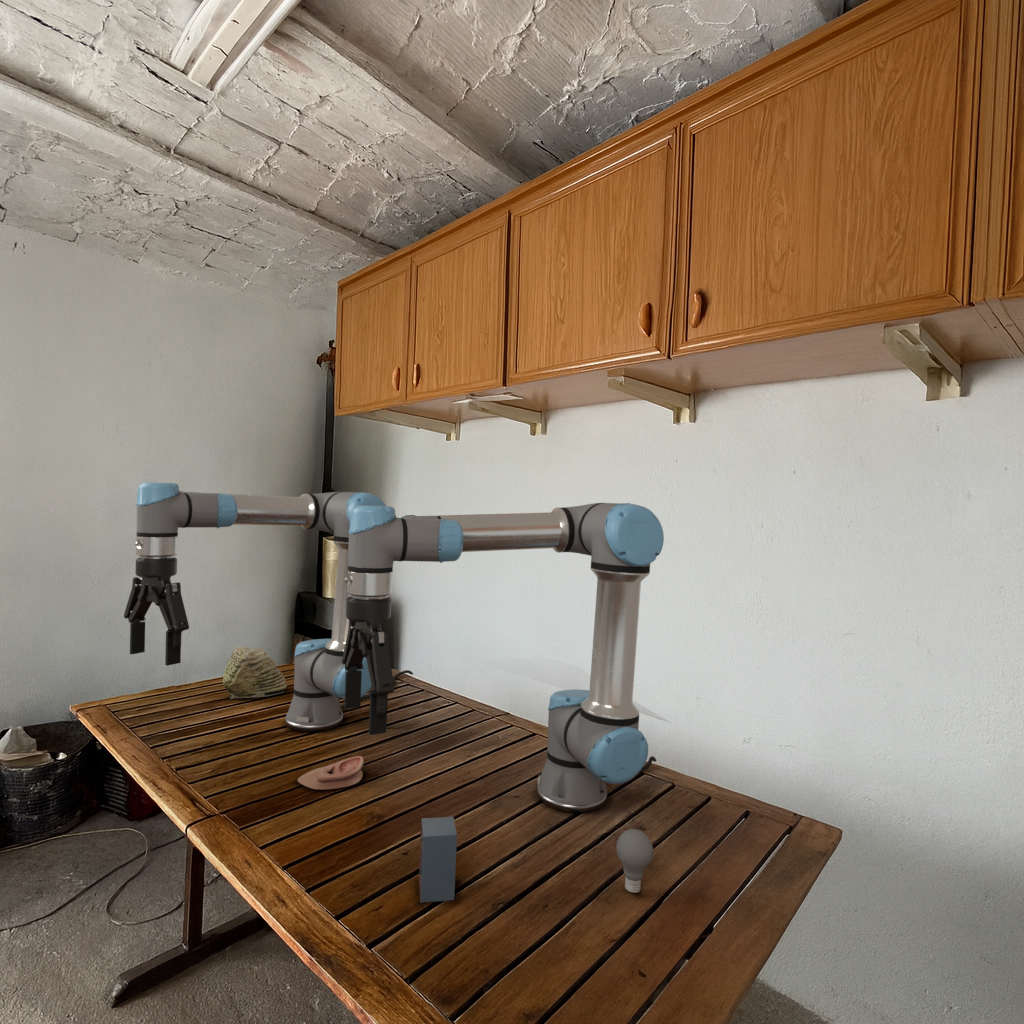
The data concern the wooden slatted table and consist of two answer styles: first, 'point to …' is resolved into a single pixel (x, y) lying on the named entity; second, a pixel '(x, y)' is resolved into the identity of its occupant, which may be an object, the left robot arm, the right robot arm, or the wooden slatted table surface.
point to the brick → (437, 859)
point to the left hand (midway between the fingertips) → (154, 658)
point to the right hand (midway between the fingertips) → (364, 719)
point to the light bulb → (634, 857)
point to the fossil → (252, 674)
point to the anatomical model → (334, 775)
